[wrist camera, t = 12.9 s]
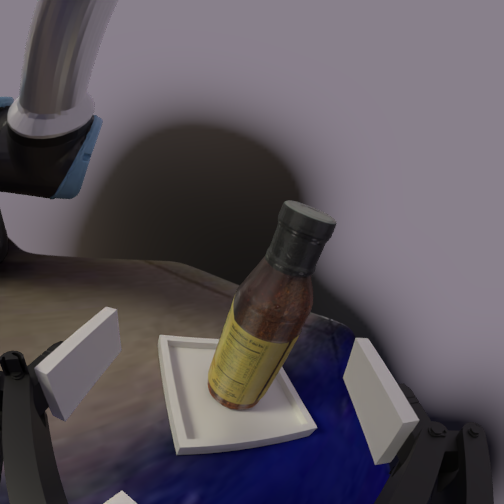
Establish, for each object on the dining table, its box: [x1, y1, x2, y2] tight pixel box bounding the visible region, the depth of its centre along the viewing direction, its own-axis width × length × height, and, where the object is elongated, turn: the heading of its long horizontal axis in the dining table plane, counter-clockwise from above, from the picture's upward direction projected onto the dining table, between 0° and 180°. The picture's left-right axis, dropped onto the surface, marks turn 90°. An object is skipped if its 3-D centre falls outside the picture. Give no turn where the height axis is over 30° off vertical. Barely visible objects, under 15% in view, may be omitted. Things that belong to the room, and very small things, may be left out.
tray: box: [158, 335, 317, 455], centre depth 26 cm, size 14×14×2 cm
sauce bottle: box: [207, 201, 336, 410], centre depth 23 cm, size 6×6×20 cm
